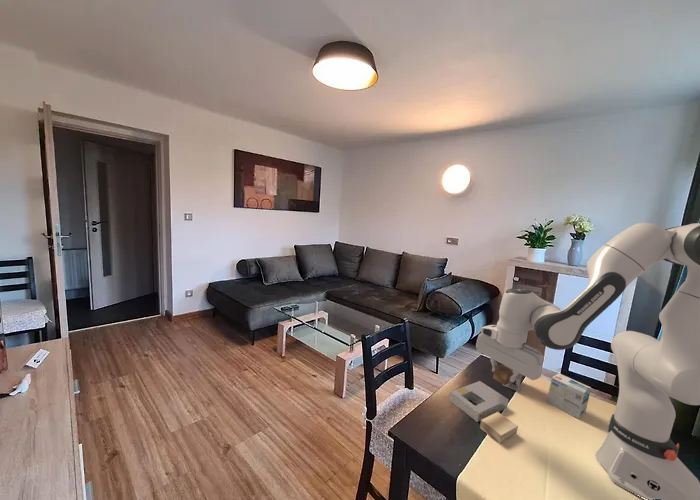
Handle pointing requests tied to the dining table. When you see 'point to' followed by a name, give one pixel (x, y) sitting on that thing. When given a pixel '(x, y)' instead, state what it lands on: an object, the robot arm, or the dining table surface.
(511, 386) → the coffee box
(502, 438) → the beige rectangular block
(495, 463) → the dining table surface
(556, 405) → the light bulb box
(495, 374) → the walnut block
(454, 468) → the dining table surface
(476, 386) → the plate
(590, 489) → the dining table surface
